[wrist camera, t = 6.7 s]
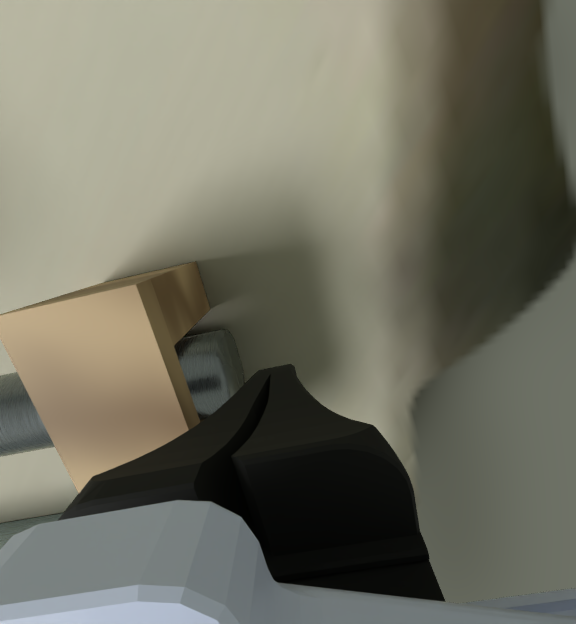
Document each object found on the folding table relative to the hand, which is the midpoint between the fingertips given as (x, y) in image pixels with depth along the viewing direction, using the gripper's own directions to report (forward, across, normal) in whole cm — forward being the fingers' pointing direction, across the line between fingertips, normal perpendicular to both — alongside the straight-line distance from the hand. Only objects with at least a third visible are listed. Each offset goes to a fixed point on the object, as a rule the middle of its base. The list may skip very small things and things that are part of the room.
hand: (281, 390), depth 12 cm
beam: (+5, +6, 0) cm, 8 cm away
